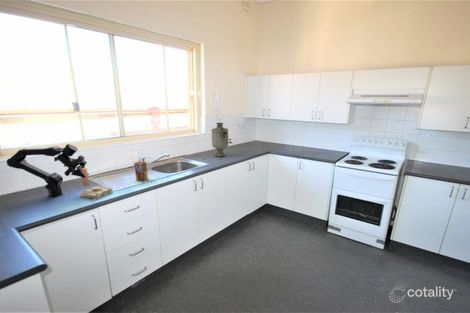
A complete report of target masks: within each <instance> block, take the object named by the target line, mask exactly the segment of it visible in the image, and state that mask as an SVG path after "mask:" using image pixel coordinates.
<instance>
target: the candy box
mask: <svg viewBox="0 0 470 313" xmlns="http://www.w3.org/2000/svg"><path fill="white" fill-rule="evenodd" d="M147 163H148V162H147V161H145V160H144V161H135V162H134V170H135V181H146V180H148V179H149V178H148V166H147Z"/></svg>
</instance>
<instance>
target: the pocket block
mask: <svg viewBox="0 0 470 313" xmlns="http://www.w3.org/2000/svg"><path fill="white" fill-rule="evenodd" d="M113 192H114V191H113V188H112V187H107V186H102V185H95V186H93V187H91V188H88V189H85V190H82V191H80V192H79V194H80V195H79V196H80V197H82V198H86V199H90V198H91V199H90V200H94V199H96V200H97V198H98V199H100V198H102V196H103V197H105V196H107V195H109V193H110V194H111V193H113ZM104 195H105V196H104ZM99 197H100V198H99Z"/></svg>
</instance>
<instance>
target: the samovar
mask: <svg viewBox="0 0 470 313" xmlns="http://www.w3.org/2000/svg"><path fill="white" fill-rule="evenodd" d="M215 124H216V127H215V128H212V129H211V146H212V148H214V149H216V151H217V152H216V153H215V154H214V155H213V157H215V156H216V157H217V159H219V158H220V157H223V156H224V157H227V155H226V154H225V153H224V152H223V151H224V149H226V148H228V146H229V144H232V145H233V142H232V141H231V140H232V138H229V128H228V127H227V128H226V127H224V126H223V125H224V122H216V123H215Z"/></svg>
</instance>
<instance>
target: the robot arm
mask: <svg viewBox="0 0 470 313" xmlns="http://www.w3.org/2000/svg"><path fill="white" fill-rule="evenodd" d="M78 150H79V149H78V147H77V146H75V145H73V144H70V143H67V144H66V145H65V146H64V147H60V146H58V145H57V146H49V147H45V148H23V149H19V150H17V152H16V153H15V154H13V155H12V156H11V157H10V158H8V159H6V165H7V166H8V167H10V168H13V169H17V170H18V169H19V170H24V171H25V172H28V173H29V174H32V175H34V176H35V177H38V178H40V179H41V180H44V182H45V183H46V185H45V186H44V187H45V189H46V190H47V192H48V194H47V197H51V198H57V197H58V196H59V197H60V196H62V195H64V193H63V190H62V187H61V185H62V183H63V182H64V178H63V176H62V175H61V174H59V173H57V172H52V173H49V172H47V171H45V170H43V169H41V168H38V167H36V166H34V165H33V164H30V163H29V162H28V161H27V160H26V158H27V156H42V155H43V156H47V157H53V158H54V162H58V161H59V162H61V164H63V167H66V168H67V169H66V170H65V171H64V175H65V176H66V177H68V176H74V177H75V176H76V177H80V178H81V177H83V178H85V175H84V174H83V173H81V172H80V169H81V168H86V165H87V163H88V162H87V161H86V160H85V156H84V155H82V154H80V155H78V156H77V158H71V157H72V156H74V154H76V153H77V151H78ZM89 175H90V174H89V173H88V176H89Z"/></svg>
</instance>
